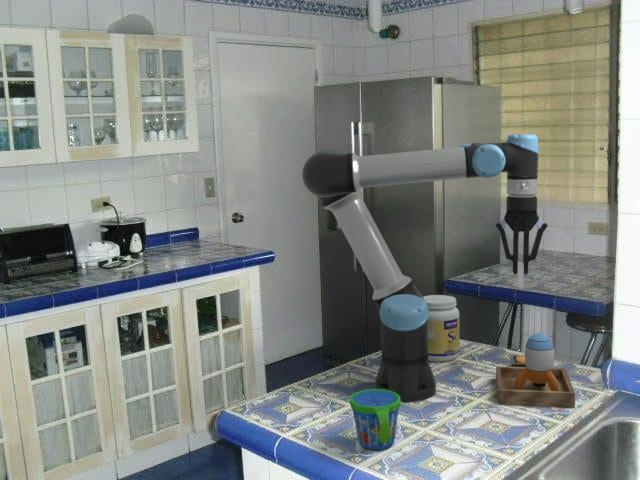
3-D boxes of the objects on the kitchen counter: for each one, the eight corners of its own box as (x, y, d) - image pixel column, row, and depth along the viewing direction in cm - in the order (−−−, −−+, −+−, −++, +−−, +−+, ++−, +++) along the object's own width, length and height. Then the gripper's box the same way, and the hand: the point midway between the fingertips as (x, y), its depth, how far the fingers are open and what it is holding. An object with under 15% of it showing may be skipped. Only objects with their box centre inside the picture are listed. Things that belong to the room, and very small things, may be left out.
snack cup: (347, 429, 155) (346, 385, 153) (395, 426, 156) (394, 382, 154) (355, 462, 140) (353, 413, 138) (407, 459, 140) (406, 410, 139)
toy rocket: (566, 399, 166) (559, 343, 162) (521, 407, 167) (512, 352, 163) (554, 378, 176) (546, 325, 172) (511, 386, 177) (503, 333, 173)
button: (516, 367, 182) (516, 360, 182) (515, 362, 187) (515, 354, 186) (534, 368, 181) (534, 360, 181) (533, 362, 186) (533, 355, 185)
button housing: (511, 378, 182) (511, 363, 181) (510, 369, 189) (510, 355, 188) (540, 379, 180) (540, 364, 180) (537, 370, 187) (537, 355, 186)
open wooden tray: (498, 404, 165) (498, 390, 165) (496, 379, 182) (496, 366, 181) (574, 408, 162) (575, 393, 161) (565, 381, 178) (565, 368, 178)
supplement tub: (450, 365, 193) (450, 306, 191) (410, 359, 200) (409, 301, 197) (466, 352, 204) (465, 296, 201) (426, 347, 210) (426, 292, 207)
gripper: (495, 197, 176) (494, 288, 179) (550, 196, 173) (547, 290, 177) (495, 194, 183) (493, 282, 187) (547, 193, 180) (545, 283, 184)
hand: (520, 286), depth 182 cm, fingers closed
